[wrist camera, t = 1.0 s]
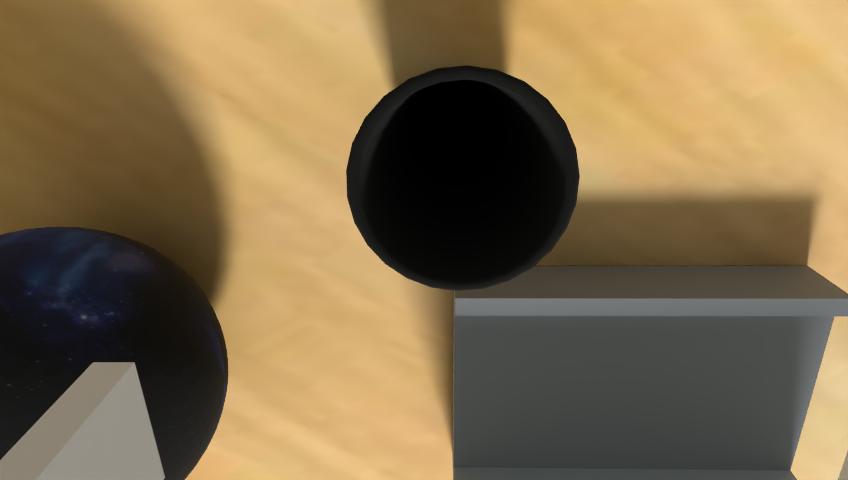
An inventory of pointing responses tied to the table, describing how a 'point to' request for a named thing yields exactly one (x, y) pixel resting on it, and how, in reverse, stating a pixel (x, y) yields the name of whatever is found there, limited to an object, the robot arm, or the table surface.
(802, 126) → the table surface
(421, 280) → the cup
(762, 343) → the shelf
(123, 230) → the table surface
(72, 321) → the decorative sphere
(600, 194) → the table surface
